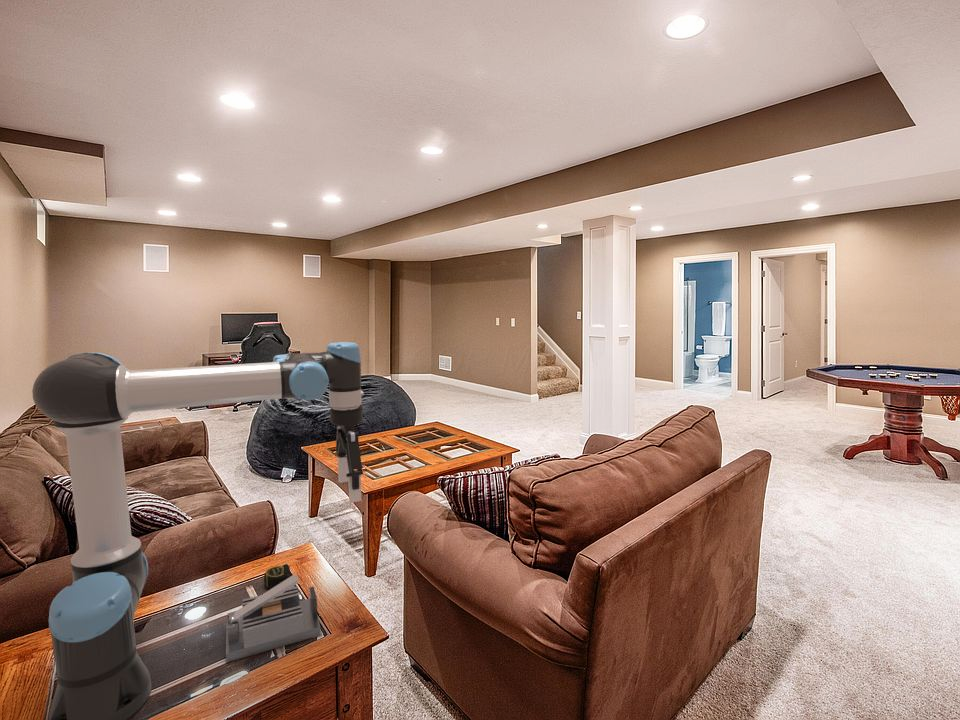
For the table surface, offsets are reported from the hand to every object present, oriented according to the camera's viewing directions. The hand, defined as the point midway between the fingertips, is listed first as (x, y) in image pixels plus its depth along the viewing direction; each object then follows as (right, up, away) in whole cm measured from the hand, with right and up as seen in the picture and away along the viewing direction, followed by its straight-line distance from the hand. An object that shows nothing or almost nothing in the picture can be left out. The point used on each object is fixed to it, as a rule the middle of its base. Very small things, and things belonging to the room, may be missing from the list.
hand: (349, 491), depth 122 cm
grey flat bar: (-16, -22, -11) cm, 29 cm away
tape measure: (-21, -27, +10) cm, 36 cm away
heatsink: (-15, -30, -9) cm, 34 cm away
